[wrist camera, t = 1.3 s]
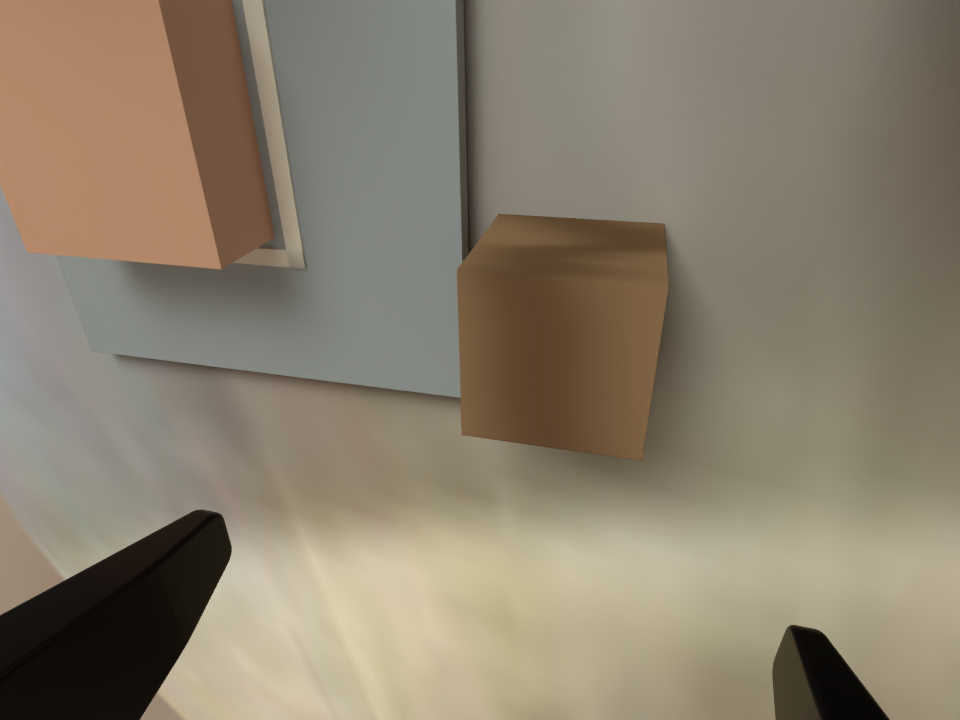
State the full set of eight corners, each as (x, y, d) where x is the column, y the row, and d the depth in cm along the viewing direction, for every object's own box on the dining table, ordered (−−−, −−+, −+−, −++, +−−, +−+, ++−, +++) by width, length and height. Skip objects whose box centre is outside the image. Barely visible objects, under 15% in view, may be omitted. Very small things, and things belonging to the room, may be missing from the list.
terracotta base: (230, -7, 17) (156, -11, 14) (274, 237, 20) (221, 269, 18) (25, -2, 18) (-75, -5, 16) (99, 224, 22) (27, 252, 19)
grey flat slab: (462, -80, 15) (452, -85, 15) (471, 386, 22) (464, 399, 22) (-36, -57, 19) (-65, -60, 18) (106, 342, 26) (89, 352, 25)
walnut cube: (664, 222, 18) (668, 286, 14) (643, 368, 20) (641, 460, 16) (499, 213, 19) (456, 269, 15) (498, 352, 21) (461, 434, 17)
